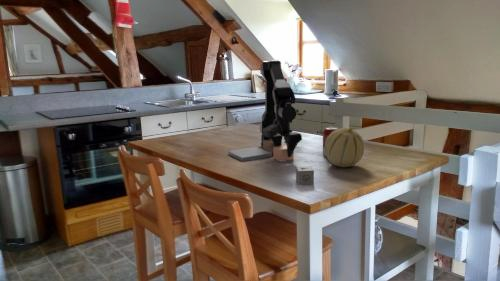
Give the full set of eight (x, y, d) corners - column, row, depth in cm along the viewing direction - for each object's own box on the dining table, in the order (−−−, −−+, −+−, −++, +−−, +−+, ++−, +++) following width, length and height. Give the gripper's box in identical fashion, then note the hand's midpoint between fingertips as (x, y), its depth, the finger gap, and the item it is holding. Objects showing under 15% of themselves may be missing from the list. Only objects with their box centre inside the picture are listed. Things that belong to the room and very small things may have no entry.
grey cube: (296, 181, 133) (295, 166, 132) (310, 180, 133) (310, 166, 132) (298, 185, 128) (298, 171, 127) (313, 185, 128) (313, 170, 127)
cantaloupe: (331, 159, 158) (331, 123, 155) (368, 163, 151) (369, 125, 148) (318, 169, 146) (318, 129, 143) (357, 173, 139) (358, 132, 135)
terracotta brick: (285, 156, 166) (285, 145, 165) (293, 159, 161) (293, 147, 160) (273, 158, 163) (273, 147, 162) (281, 161, 158) (280, 149, 157)
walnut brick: (274, 149, 179) (274, 138, 178) (281, 152, 174) (281, 141, 173) (263, 151, 177) (263, 140, 176) (270, 153, 171) (270, 142, 170)
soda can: (329, 158, 160) (330, 129, 157) (319, 155, 166) (319, 127, 163) (342, 156, 163) (343, 128, 160) (332, 153, 169) (332, 125, 166)
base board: (256, 150, 178) (256, 146, 178) (271, 156, 166) (271, 153, 166) (228, 154, 172) (228, 151, 172) (242, 161, 160) (242, 157, 160)
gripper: (254, 116, 163) (255, 153, 166) (277, 122, 147) (278, 162, 150) (277, 114, 168) (277, 149, 171) (302, 119, 152) (302, 158, 155)
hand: (283, 154), depth 162 cm, fingers open, 9 cm apart
